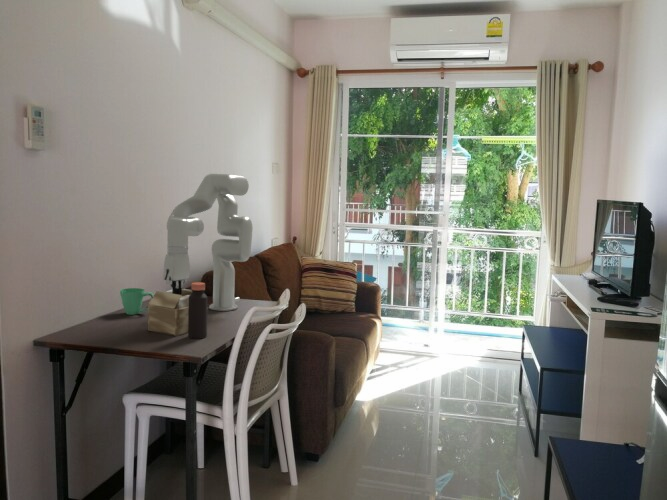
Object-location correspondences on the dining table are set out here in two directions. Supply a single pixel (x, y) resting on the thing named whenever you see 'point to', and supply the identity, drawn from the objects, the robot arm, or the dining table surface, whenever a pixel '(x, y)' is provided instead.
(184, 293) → the rear flap
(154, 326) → the carton
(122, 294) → the mug
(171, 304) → the front flap
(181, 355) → the dining table surface
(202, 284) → the bottle
